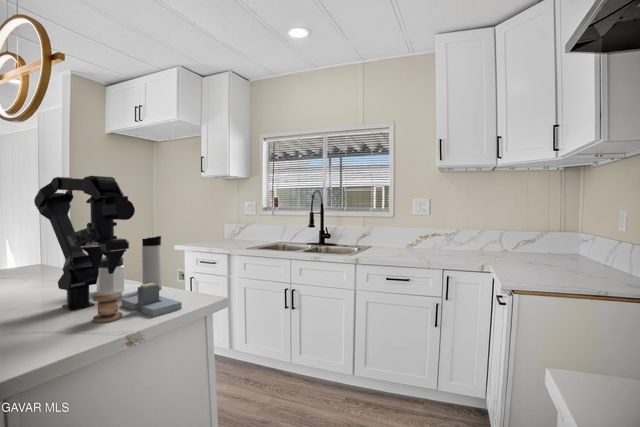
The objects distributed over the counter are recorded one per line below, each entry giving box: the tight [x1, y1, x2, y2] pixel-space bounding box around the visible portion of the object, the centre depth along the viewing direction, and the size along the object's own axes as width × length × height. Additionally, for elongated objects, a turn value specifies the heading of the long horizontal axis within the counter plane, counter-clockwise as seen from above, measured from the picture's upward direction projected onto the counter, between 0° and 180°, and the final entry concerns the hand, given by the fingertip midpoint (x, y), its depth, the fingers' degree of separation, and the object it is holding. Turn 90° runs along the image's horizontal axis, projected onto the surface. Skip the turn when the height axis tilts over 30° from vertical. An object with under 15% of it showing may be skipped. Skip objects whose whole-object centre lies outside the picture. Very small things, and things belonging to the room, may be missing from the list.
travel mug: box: [141, 235, 163, 291], centre depth 126 cm, size 6×7×20 cm
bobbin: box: [92, 292, 123, 324], centre depth 96 cm, size 7×7×7 cm
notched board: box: [120, 295, 183, 318], centre depth 106 cm, size 18×9×2 cm, turn 56°
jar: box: [96, 256, 125, 294], centre depth 124 cm, size 9×8×12 cm
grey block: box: [137, 283, 160, 312], centre depth 105 cm, size 3×5×8 cm, turn 147°
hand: (103, 271), depth 101 cm, fingers open, 9 cm apart
